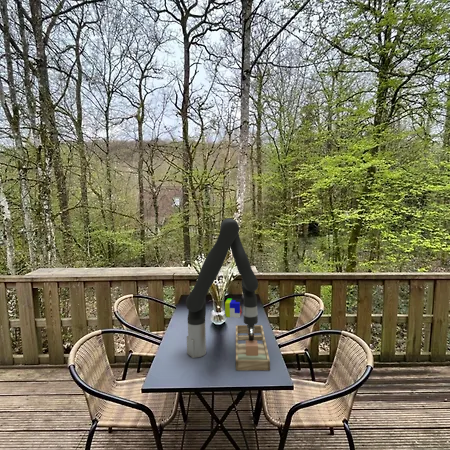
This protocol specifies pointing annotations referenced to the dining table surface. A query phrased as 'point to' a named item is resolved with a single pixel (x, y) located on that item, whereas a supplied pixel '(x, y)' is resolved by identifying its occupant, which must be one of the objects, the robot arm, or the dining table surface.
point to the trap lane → (251, 361)
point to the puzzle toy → (233, 308)
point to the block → (252, 348)
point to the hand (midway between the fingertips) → (251, 345)
